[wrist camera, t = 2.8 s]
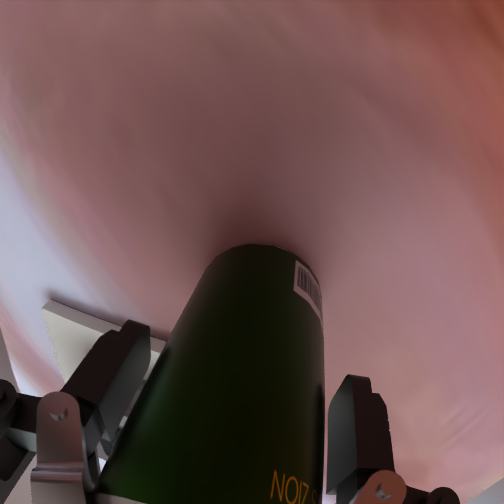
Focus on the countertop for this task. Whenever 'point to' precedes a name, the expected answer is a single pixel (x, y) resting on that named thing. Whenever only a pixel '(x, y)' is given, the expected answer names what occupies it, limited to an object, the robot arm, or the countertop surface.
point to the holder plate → (81, 337)
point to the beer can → (231, 393)
